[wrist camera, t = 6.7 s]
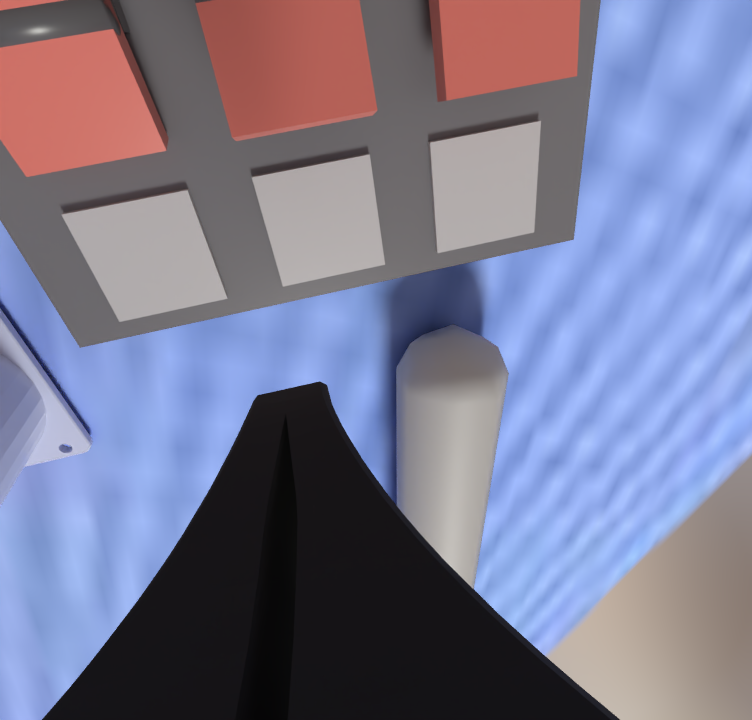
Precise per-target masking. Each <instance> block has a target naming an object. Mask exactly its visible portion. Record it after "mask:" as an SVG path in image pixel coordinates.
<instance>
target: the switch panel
mask: <svg viewBox="0 0 752 720" xmlns="http://www.w3.org/2000/svg"><path fill="white" fill-rule="evenodd" d="M111 1H112V4H113V6H114V9H115V11H116V14H117V17H118V20H119V23H120V25H121V27H122V30H123V32H124V34H125V37H126V39H127V41H128V44H129V46H130V48H131V51H132V53H133V55H134V58H135V60H136V63H137V65H138V67H139V70H140V72H141V74H142V77H143V79H144V81H145V84H146V86H147V88H148V91H149V93H150V95H151V98H152V100H153V103H154V105H155V107H156V110H157V112H158V114H159V117H160V119H161V121H162V124H163V126H164V128H165V131H166V133H167V135H168V138H169V140H168V145H167V151H163V152H157V153H152V154H147V155H141V156H136V157H131V158H125V159H120V160H115V161H110V162H104V163H99V164H94V165H88V166H83V167H78V168H72V169H67V170H62V171H56V172H51V173H46V174H40V175H35V176H30V177H26V176H25V174H24V173H23V171H22V170H21V168H20V167H19V166H18V164H17V163H16V161H15V160H14V158H13V157H12V156H11V154H10V153H9V151H8V150H7V148H6V147H5V146H4V144H3V143H2V141H1V140H0V220H1V222H2V223H3V225H4V227H5V228H6V230H7V231H8V233H9V235H10V236H11V238H12V239H13V241H14V243H15V244H16V246H17V247H18V249H19V251H20V252H21V254H22V255H23V257H24V259H25V260H26V262H27V263H28V265H29V267H30V268H31V270H32V272H33V273H34V275H35V276H36V278H37V280H38V281H39V283H40V284H41V286H42V288H43V289H44V291H45V292H46V294H47V296H48V297H49V299H50V300H51V302H52V304H53V305H54V307H55V308H56V310H57V312H58V313H59V315H60V316H61V318H62V320H63V321H64V323H65V324H66V326H67V328H68V329H69V331H70V332H71V334H72V336H73V337H74V339H75V340H76V342H77V344H78V345H79V347H80V348H81V347H85V346H90V345H94V344H99V343H103V342H108V341H113V340H117V339H122V338H126V337H131V336H135V335H140V334H145V333H149V332H154V331H158V330H163V329H167V328H172V327H176V326H181V325H186V324H190V323H195V322H199V321H204V320H208V319H213V318H218V317H222V316H227V315H231V314H236V313H240V312H245V311H250V310H254V309H259V308H263V307H268V306H272V305H277V304H282V303H286V302H291V301H295V300H300V299H304V298H309V297H313V296H318V295H323V294H327V293H332V292H336V291H341V290H345V289H350V288H355V287H359V286H364V285H368V284H373V283H377V282H382V281H387V280H391V279H396V278H400V277H405V276H409V275H414V274H418V273H423V272H428V271H432V270H437V269H441V268H446V267H450V266H455V265H460V264H464V263H469V262H473V261H478V260H482V259H487V258H492V257H496V256H501V255H505V254H510V253H514V252H519V251H524V250H528V249H533V248H537V247H542V246H546V245H551V244H555V243H560V242H565V241H569V240H574V231H575V222H576V214H577V205H578V196H579V187H580V178H581V169H582V160H583V151H584V142H585V134H586V125H587V116H588V107H589V98H590V89H591V80H592V71H593V63H594V54H595V45H596V36H597V27H598V18H599V9H600V0H580V20H579V44H578V67H577V76H575V77H569V78H564V79H559V80H553V81H548V82H543V83H538V84H532V85H527V86H522V87H516V88H511V89H506V90H500V91H495V92H490V93H485V94H479V95H474V96H469V97H463V98H458V99H453V100H447V101H441V102H437V90H436V78H435V67H434V55H433V43H432V32H431V20H430V8H429V0H359V1H360V7H361V13H362V19H363V25H364V31H365V37H366V43H367V50H368V56H369V62H370V68H371V74H372V80H373V86H374V92H375V98H376V104H377V111H376V112H375V114H374V115H373V116H368V117H362V118H357V119H352V120H346V121H341V122H336V123H331V124H325V125H320V126H315V127H309V128H304V129H299V130H293V131H288V132H283V133H278V134H272V135H267V136H262V137H256V138H251V139H246V140H241V141H235V140H234V139H233V138H232V136H231V132H230V128H229V125H228V121H227V117H226V114H225V110H224V106H223V103H222V99H221V95H220V91H219V88H218V84H217V80H216V77H215V73H214V69H213V66H212V62H211V58H210V55H209V51H208V47H207V44H206V40H205V36H204V33H203V29H202V25H201V22H200V18H199V14H198V11H197V7H196V3H195V0H111Z"/></svg>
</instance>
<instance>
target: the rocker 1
mask: <svg viewBox="0 0 752 720" xmlns="http://www.w3.org/2000/svg"><path fill="white" fill-rule="evenodd" d="M0 140H1V141H2V143H3V144H4V146H5V147H6V148H7V150H8V151H9V153H10V154H11V156H12V157H13V158H14V160H15V161H16V163H17V164H18V166H19V167H20V168H21V170H22V171H23V173H24V174H25V176H26V177H30V176H35V175H40V174H46V173H51V172H56V171H62V170H67V169H72V168H78V167H83V166H88V165H94V164H99V163H104V162H110V161H115V160H120V159H125V158H131V157H136V156H141V155H147V154H152V153H157V152H163V151H167V145H168V140H169V138H168V135H167V133H166V131H165V128H164V126H163V124H162V121H161V119H160V117H159V114H158V112H157V110H156V107H155V105H154V103H153V100H152V98H151V95H150V93H149V91H148V88H147V86H146V84H145V81H144V79H143V77H142V74H141V72H140V70H139V67H138V65H137V63H136V60H135V58H134V55H133V53H132V51H131V48H130V46H129V44H128V41H127V39H126V37H125V34H124V32H123V30H122V27H121V25H120V23H119V20H118V17H117V14H116V11H115V9H114V6H113V4H112V1H111V0H0Z"/></svg>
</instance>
